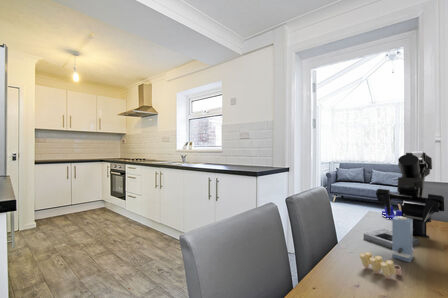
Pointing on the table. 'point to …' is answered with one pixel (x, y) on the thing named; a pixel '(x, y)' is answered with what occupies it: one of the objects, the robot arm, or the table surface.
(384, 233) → the plate
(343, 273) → the table surface
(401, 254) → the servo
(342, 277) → the table surface
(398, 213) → the cable clip
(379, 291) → the table surface
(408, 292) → the table surface
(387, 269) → the ammunition
